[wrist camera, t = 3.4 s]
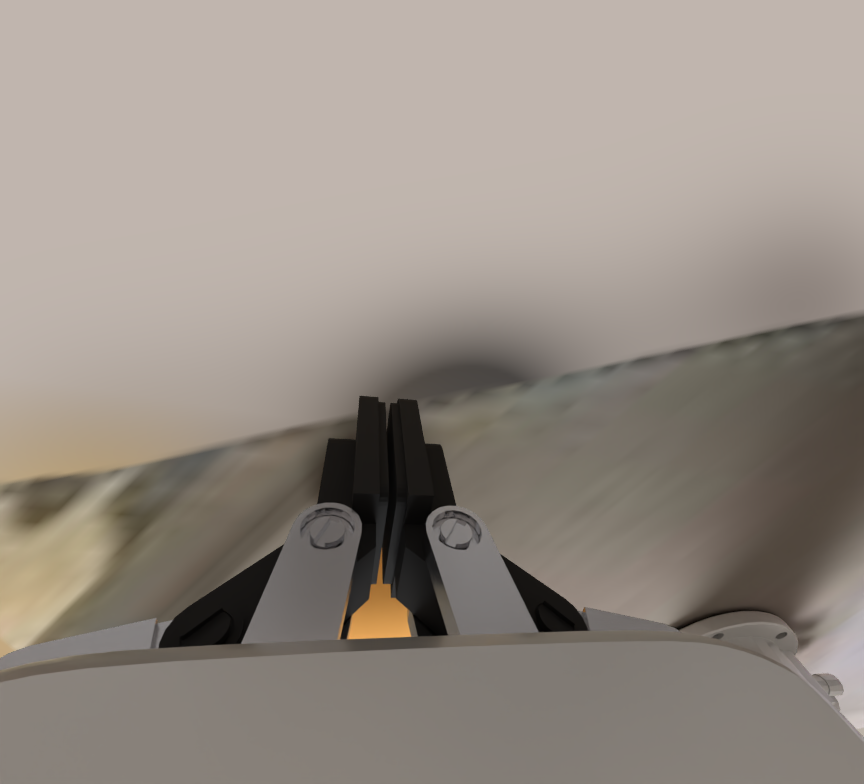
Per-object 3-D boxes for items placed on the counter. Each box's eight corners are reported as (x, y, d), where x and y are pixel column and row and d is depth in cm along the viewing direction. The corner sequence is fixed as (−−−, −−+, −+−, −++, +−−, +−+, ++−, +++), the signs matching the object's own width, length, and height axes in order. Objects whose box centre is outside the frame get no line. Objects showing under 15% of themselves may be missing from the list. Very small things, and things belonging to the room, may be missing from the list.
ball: (437, 491, 21) (456, 598, 15) (421, 568, 23) (432, 682, 18) (319, 485, 20) (295, 597, 14) (316, 567, 22) (295, 687, 17)
